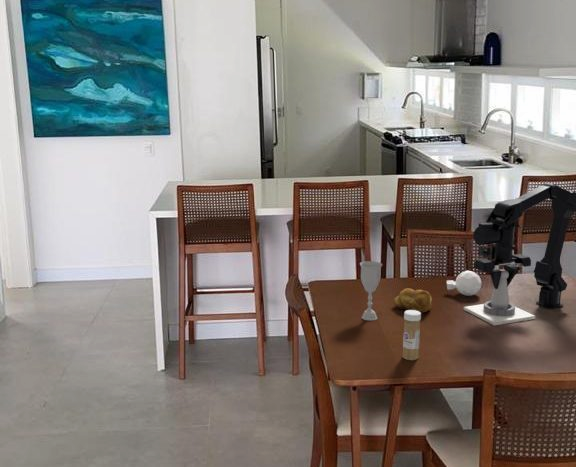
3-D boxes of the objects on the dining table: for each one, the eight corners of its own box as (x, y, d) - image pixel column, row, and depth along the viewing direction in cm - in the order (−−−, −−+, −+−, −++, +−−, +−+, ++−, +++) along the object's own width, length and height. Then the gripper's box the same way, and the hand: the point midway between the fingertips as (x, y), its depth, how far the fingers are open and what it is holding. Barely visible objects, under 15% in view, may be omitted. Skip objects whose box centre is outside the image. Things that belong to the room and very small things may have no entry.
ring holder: (502, 303, 247) (503, 295, 246) (534, 318, 232) (535, 309, 232) (463, 309, 241) (464, 301, 240) (494, 325, 226) (495, 316, 226)
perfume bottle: (481, 286, 260) (447, 287, 263) (480, 264, 256) (445, 267, 258) (483, 300, 253) (448, 302, 256) (482, 278, 248) (446, 281, 251)
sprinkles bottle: (399, 358, 201) (401, 312, 198) (407, 353, 205) (409, 308, 202) (413, 362, 198) (415, 316, 195) (421, 357, 202) (424, 311, 199)
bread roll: (389, 309, 241) (390, 286, 239) (400, 301, 249) (401, 279, 247) (426, 316, 235) (427, 293, 233) (436, 308, 243) (437, 285, 241)
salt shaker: (509, 312, 233) (512, 273, 230) (491, 311, 234) (493, 272, 231) (507, 306, 238) (510, 268, 235) (489, 305, 239) (492, 267, 236)
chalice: (383, 316, 235) (385, 262, 230) (376, 322, 229) (378, 268, 224) (362, 312, 238) (363, 260, 233) (355, 319, 232) (356, 265, 227)
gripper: (511, 233, 242) (507, 278, 245) (464, 238, 235) (462, 284, 238) (533, 241, 232) (530, 287, 235) (486, 246, 225) (483, 294, 228)
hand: (500, 288), depth 235 cm, fingers closed on salt shaker, 4 cm apart
